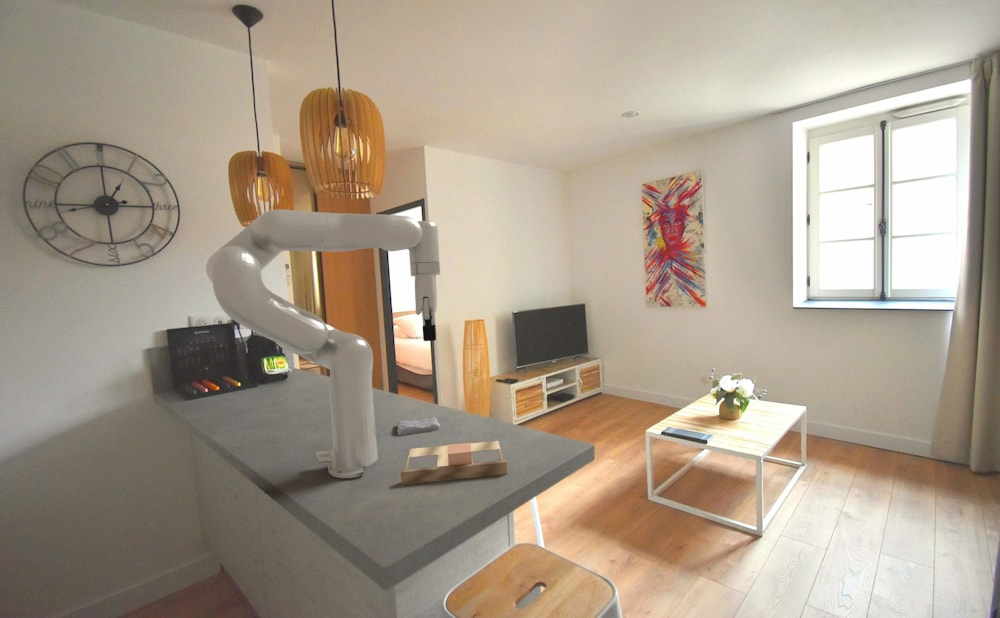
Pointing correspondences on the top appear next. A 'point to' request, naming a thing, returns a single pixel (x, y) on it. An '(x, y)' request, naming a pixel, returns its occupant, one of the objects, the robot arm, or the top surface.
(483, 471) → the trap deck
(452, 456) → the terracotta block
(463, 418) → the top surface
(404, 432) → the stone block
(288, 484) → the top surface
